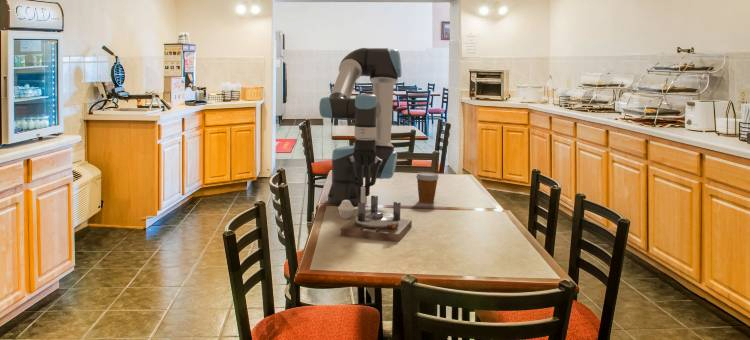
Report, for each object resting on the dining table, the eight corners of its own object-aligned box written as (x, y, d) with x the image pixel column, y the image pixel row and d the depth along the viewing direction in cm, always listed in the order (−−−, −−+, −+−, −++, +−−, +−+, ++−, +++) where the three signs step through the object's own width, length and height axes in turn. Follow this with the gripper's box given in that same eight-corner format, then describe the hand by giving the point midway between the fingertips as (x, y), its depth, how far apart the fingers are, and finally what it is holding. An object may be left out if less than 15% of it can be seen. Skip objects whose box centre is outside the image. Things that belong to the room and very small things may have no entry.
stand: (340, 235, 200) (340, 226, 199) (358, 221, 219) (358, 212, 218) (398, 241, 195) (398, 232, 194) (411, 226, 214) (411, 217, 213)
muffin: (346, 220, 220) (346, 202, 219) (334, 217, 224) (334, 199, 223) (357, 217, 225) (358, 199, 223) (345, 214, 229) (346, 196, 227)
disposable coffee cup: (436, 204, 250) (437, 176, 248) (413, 203, 252) (414, 175, 249) (438, 199, 259) (439, 172, 257) (416, 198, 261) (417, 171, 259)
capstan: (349, 226, 201) (350, 203, 200) (362, 216, 215) (363, 194, 214) (394, 231, 197) (395, 207, 196) (405, 220, 211) (406, 198, 210)
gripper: (344, 138, 208) (342, 205, 211) (380, 140, 204) (378, 208, 208) (350, 136, 215) (349, 200, 219) (385, 138, 211) (384, 204, 215)
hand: (363, 204), depth 213 cm, fingers closed
